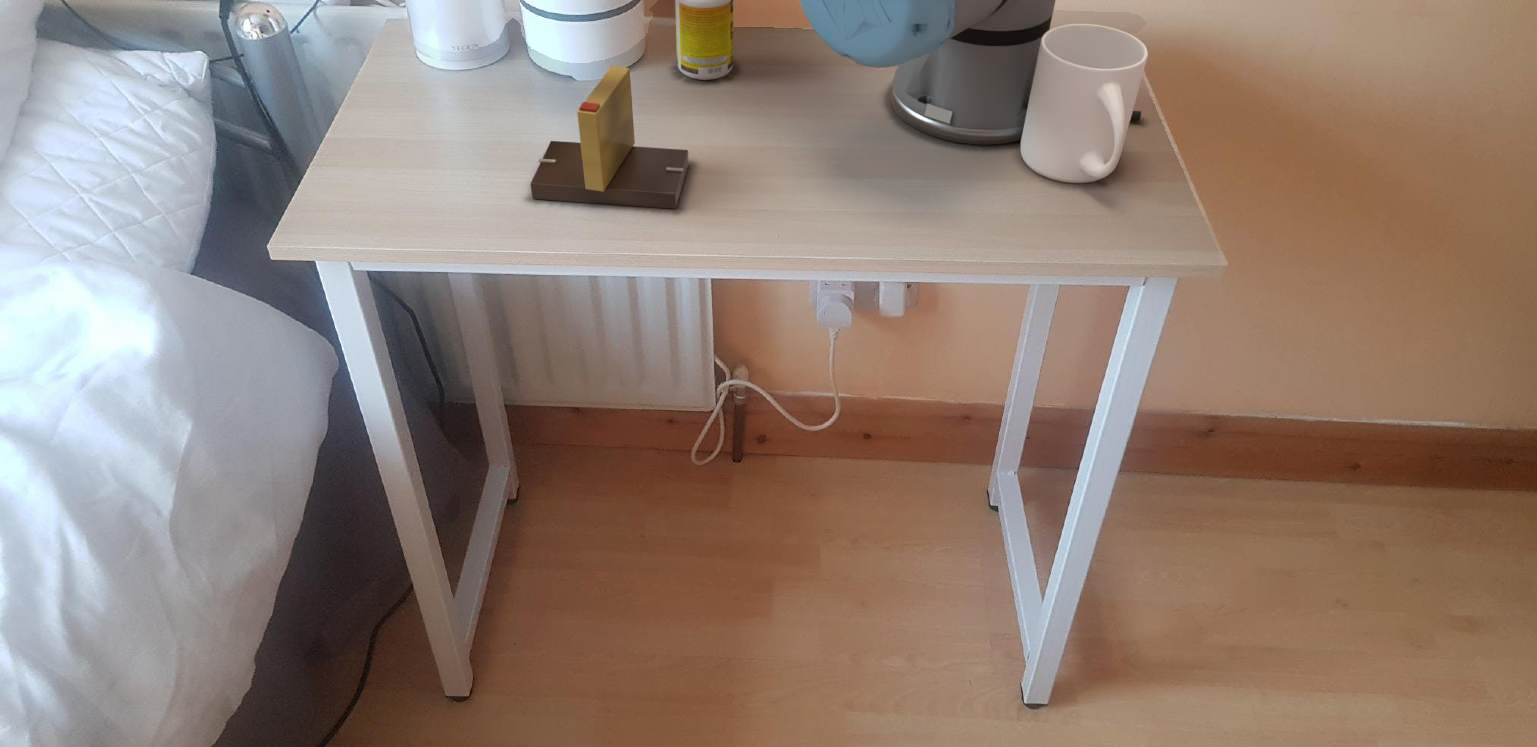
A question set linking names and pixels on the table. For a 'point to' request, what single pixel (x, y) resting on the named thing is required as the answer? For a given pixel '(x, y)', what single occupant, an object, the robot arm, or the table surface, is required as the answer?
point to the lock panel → (636, 182)
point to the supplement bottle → (704, 37)
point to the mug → (1081, 101)
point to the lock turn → (606, 128)
